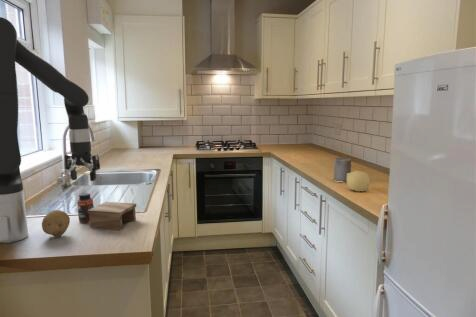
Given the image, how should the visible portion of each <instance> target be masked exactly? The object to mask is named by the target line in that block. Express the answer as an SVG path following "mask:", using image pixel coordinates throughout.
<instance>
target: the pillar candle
mask: <svg viewBox="0 0 476 317" xmlns="http://www.w3.org/2000/svg"><path fill="white" fill-rule="evenodd" d="M333 162H334V164H333V168H334V169H333V181H334V180H336V181H343V182H347V173H351V172H352V158H350V157H335V158H334V161H333Z"/></svg>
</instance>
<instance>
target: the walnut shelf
mask: <svg viewBox="0 0 476 317" xmlns="http://www.w3.org/2000/svg"><path fill="white" fill-rule="evenodd" d="M136 207H137V203H132V202H115V201H105V202H102V203H100V204H97V205H96V206H94V207H93V208H91V209H89V210H87V212H88V213H89V218H90V222H89V228H91V229H103V230H112V231H113V230H114V231H122V230H123V221H125V222H135V221H136V220H137V219H136V218H137V215H136Z"/></svg>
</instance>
